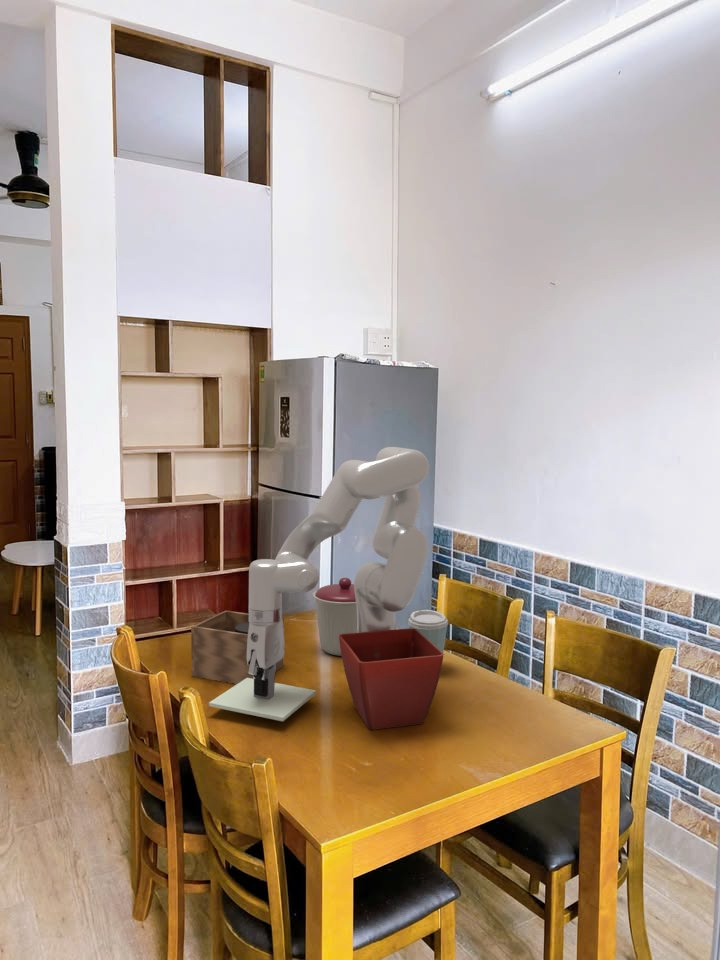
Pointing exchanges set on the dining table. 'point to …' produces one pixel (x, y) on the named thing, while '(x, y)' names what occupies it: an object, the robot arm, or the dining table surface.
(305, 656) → the dining table surface
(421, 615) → the disposable coffee cup
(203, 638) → the box
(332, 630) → the canister
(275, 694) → the lid
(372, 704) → the plant pot
